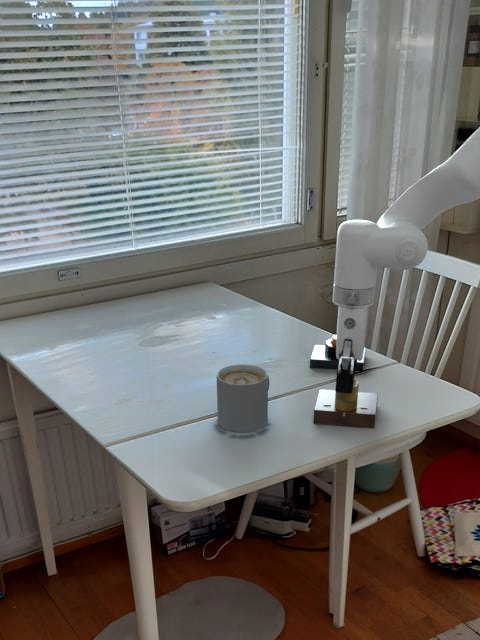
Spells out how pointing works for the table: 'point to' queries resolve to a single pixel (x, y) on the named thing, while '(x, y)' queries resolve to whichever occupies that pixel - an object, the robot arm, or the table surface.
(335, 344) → the button
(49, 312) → the table surface
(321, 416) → the dial panel
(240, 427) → the coffee mug
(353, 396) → the dial
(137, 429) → the table surface
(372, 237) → the robot arm
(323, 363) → the button box
